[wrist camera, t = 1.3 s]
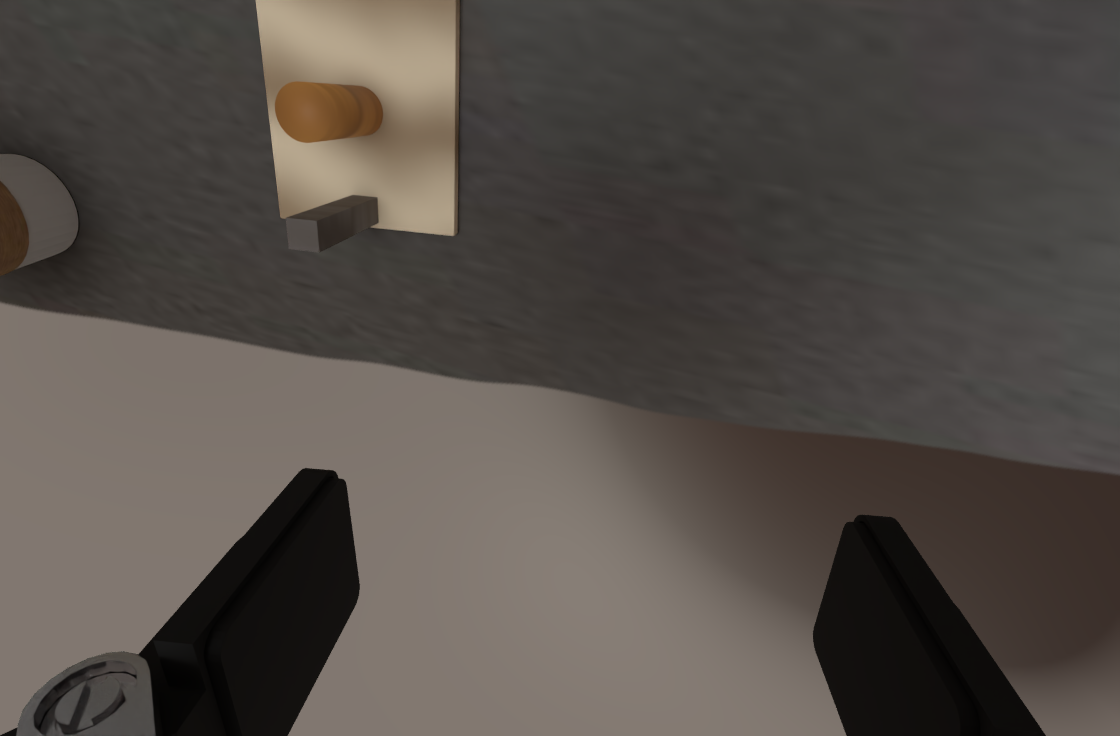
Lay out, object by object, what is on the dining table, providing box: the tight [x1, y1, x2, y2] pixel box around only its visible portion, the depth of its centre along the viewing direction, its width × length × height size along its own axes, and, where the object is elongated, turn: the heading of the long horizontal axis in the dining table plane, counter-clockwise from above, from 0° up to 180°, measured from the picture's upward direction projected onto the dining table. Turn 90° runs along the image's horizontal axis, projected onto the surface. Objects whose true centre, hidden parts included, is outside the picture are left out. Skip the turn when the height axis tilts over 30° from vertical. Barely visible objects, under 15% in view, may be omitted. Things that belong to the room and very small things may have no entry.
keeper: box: [256, 0, 460, 252], centre depth 28 cm, size 12×10×8 cm
